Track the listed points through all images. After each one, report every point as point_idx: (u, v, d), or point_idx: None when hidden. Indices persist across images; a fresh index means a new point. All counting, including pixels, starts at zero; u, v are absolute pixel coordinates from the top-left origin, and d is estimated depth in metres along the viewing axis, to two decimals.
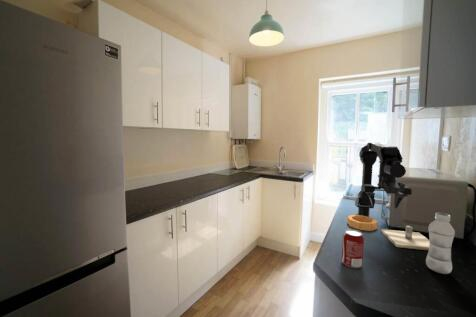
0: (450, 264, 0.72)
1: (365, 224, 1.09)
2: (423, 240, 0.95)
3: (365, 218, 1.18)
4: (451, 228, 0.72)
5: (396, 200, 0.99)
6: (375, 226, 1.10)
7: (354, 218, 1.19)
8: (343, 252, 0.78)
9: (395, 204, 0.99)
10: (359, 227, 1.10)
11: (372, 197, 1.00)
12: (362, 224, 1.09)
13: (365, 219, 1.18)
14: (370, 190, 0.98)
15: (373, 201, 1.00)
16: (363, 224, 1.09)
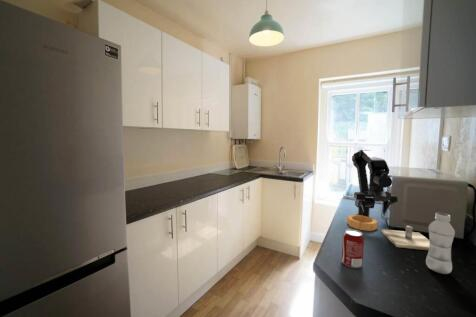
0: (450, 264, 0.72)
1: (365, 224, 1.09)
2: (423, 240, 0.95)
3: (365, 218, 1.18)
4: (451, 228, 0.72)
5: (384, 207, 1.12)
6: (375, 226, 1.10)
7: (354, 218, 1.19)
8: (343, 252, 0.78)
9: (383, 210, 1.12)
10: (359, 227, 1.10)
11: (363, 204, 1.13)
12: (362, 224, 1.09)
13: (365, 219, 1.18)
14: (361, 198, 1.11)
15: (364, 207, 1.13)
16: (363, 224, 1.09)
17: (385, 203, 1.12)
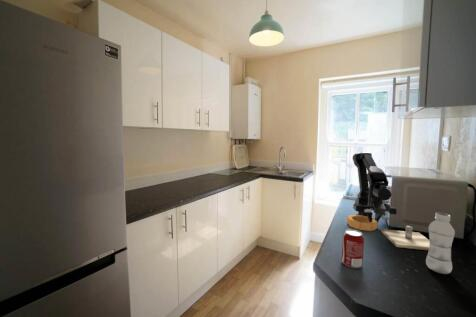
0: (450, 264, 0.72)
1: (365, 224, 1.09)
2: (423, 240, 0.95)
3: (365, 218, 1.18)
4: (451, 228, 0.72)
5: (376, 218, 1.13)
6: (375, 226, 1.10)
7: (354, 218, 1.19)
8: (343, 252, 0.78)
9: None
10: (359, 227, 1.10)
11: (370, 216, 1.13)
12: (362, 224, 1.09)
13: (365, 219, 1.18)
14: (360, 209, 1.12)
15: (371, 220, 1.13)
16: (363, 224, 1.09)
17: (377, 214, 1.13)
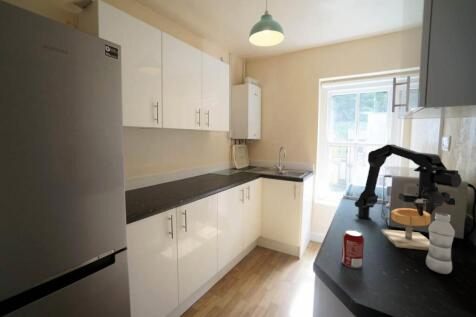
0: (450, 264, 0.72)
1: (417, 218, 0.91)
2: (423, 240, 0.95)
3: (412, 211, 1.00)
4: (451, 228, 0.72)
5: (428, 210, 0.95)
6: (429, 220, 0.92)
7: (399, 212, 1.02)
8: (343, 252, 0.78)
9: None
10: (410, 223, 0.92)
11: (421, 208, 0.95)
12: (413, 219, 0.91)
13: (413, 212, 1.00)
14: (410, 200, 0.94)
15: (422, 212, 0.95)
16: (415, 219, 0.91)
17: (429, 205, 0.95)
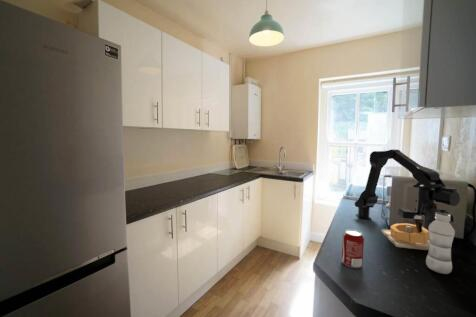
0: (450, 264, 0.72)
1: (416, 235, 0.92)
2: None
3: None
4: (451, 228, 0.72)
5: (427, 226, 0.96)
6: (427, 236, 0.93)
7: (398, 228, 1.02)
8: (343, 252, 0.78)
9: None
10: (409, 239, 0.92)
11: (420, 224, 0.95)
12: (412, 236, 0.92)
13: None
14: (409, 216, 0.95)
15: (421, 228, 0.96)
16: (413, 236, 0.92)
17: (428, 222, 0.96)
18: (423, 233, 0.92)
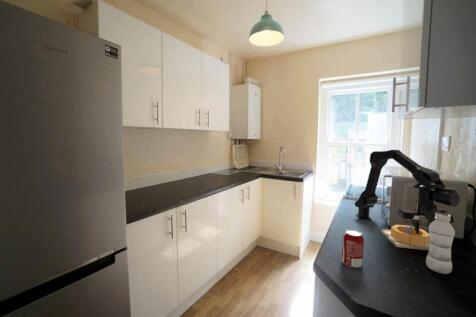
0: (450, 264, 0.72)
1: (417, 237, 0.92)
2: None
3: None
4: (451, 228, 0.72)
5: None
6: (428, 239, 0.93)
7: (398, 229, 1.02)
8: (343, 252, 0.78)
9: (428, 231, 0.96)
10: (409, 241, 0.92)
11: (417, 224, 0.96)
12: (413, 237, 0.92)
13: (412, 230, 1.01)
14: (409, 217, 0.95)
15: (418, 228, 0.96)
16: (414, 237, 0.92)
17: (431, 222, 0.95)
18: (424, 236, 0.92)
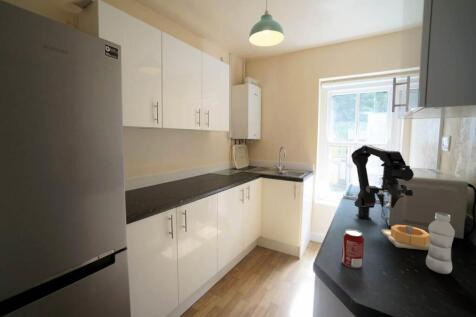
0: (450, 264, 0.72)
1: (417, 237, 0.92)
2: None
3: None
4: (451, 228, 0.72)
5: (393, 200, 1.08)
6: (428, 239, 0.93)
7: (398, 229, 1.02)
8: (343, 252, 0.78)
9: (392, 204, 1.08)
10: (409, 241, 0.92)
11: (382, 198, 1.08)
12: (413, 237, 0.92)
13: (412, 230, 1.01)
14: (375, 191, 1.07)
15: (382, 202, 1.08)
16: (414, 237, 0.92)
17: (394, 197, 1.08)
18: (424, 236, 0.92)
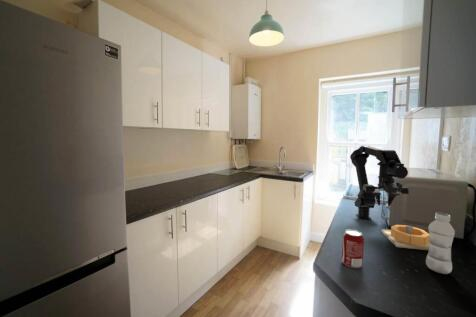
0: (450, 264, 0.72)
1: (417, 237, 0.92)
2: None
3: None
4: (451, 228, 0.72)
5: (389, 199, 1.09)
6: (428, 239, 0.93)
7: (398, 229, 1.02)
8: (343, 252, 0.78)
9: (388, 202, 1.10)
10: (409, 241, 0.92)
11: (378, 196, 1.09)
12: (413, 237, 0.92)
13: (412, 230, 1.01)
14: (371, 190, 1.08)
15: (379, 200, 1.09)
16: (414, 237, 0.92)
17: (390, 195, 1.09)
18: (424, 236, 0.92)
